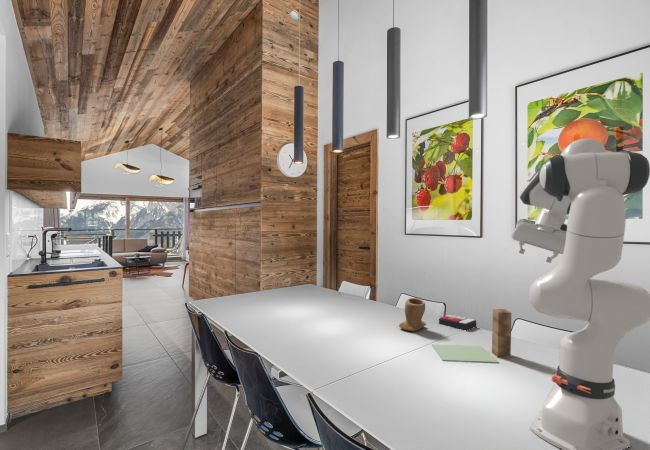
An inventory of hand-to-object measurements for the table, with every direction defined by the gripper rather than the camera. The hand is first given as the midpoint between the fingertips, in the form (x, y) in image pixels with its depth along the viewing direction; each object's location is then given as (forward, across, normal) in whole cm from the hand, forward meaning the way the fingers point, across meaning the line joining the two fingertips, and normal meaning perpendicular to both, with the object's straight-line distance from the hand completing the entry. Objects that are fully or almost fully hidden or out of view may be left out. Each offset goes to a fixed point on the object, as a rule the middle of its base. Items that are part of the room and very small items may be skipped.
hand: (534, 257), depth 127 cm
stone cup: (+50, -38, +19) cm, 66 cm away
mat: (+46, -10, +2) cm, 47 cm away
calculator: (+40, -26, +38) cm, 61 cm away
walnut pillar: (+40, +1, +11) cm, 42 cm away
